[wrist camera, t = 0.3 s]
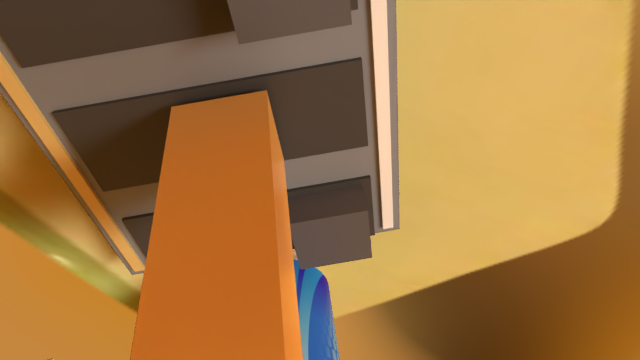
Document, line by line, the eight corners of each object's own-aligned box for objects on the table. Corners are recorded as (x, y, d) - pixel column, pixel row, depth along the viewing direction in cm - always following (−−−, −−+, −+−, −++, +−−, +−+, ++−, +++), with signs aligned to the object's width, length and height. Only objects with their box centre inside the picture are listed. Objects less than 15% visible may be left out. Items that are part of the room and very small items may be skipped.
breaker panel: (-81, -82, 17) (-146, -36, 14) (380, -164, 17) (409, -134, 14) (137, 247, 30) (126, 304, 27) (392, 203, 30) (407, 256, 27)
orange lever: (171, 106, 20) (97, 560, 10) (266, 90, 20) (296, 526, 10) (200, 174, 23) (167, 582, 12) (283, 160, 23) (321, 556, 12)
